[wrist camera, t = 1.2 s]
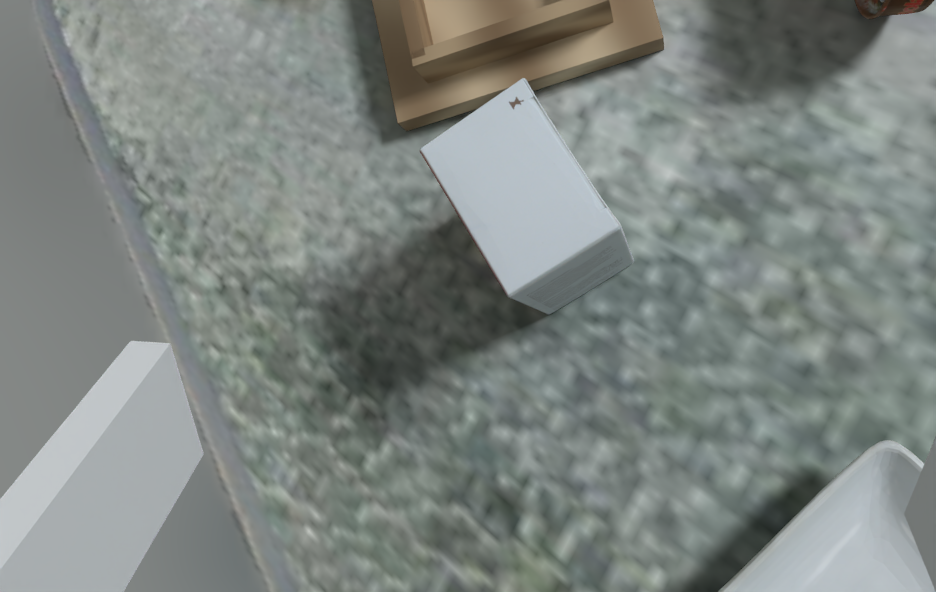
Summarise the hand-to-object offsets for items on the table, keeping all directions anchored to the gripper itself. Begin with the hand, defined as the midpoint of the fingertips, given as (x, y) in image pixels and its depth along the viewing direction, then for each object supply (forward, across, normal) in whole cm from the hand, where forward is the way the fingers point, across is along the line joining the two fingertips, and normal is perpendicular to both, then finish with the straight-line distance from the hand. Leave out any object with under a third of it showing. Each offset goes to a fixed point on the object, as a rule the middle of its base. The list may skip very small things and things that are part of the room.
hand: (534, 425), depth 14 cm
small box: (+28, -1, -12) cm, 30 cm away
